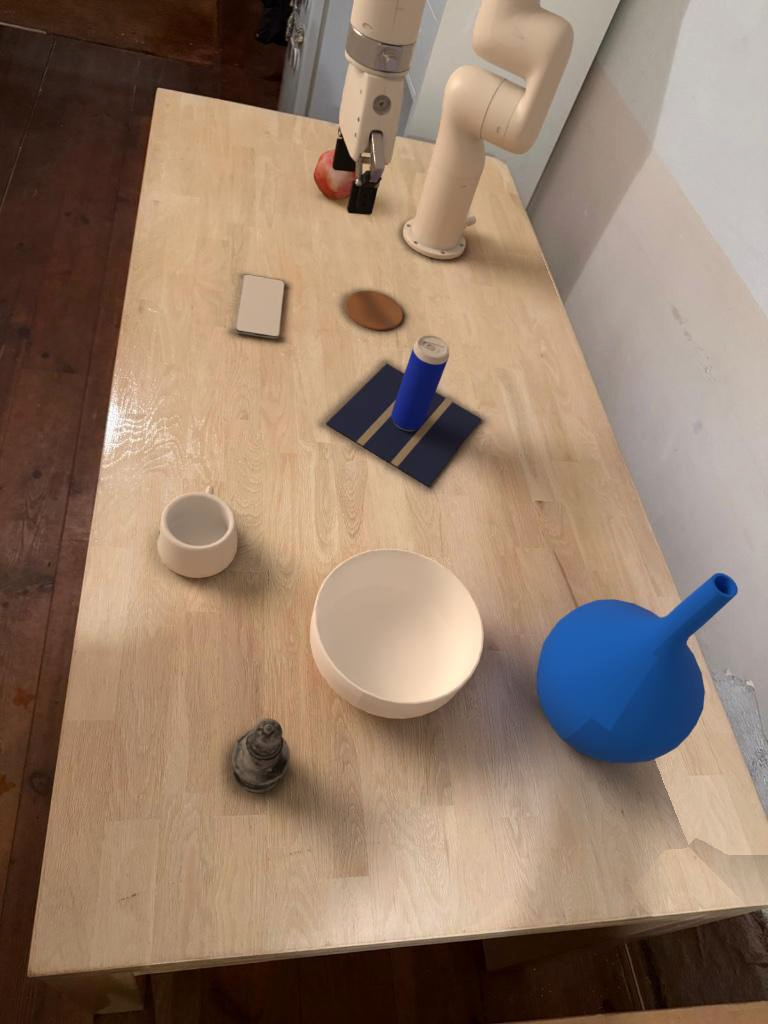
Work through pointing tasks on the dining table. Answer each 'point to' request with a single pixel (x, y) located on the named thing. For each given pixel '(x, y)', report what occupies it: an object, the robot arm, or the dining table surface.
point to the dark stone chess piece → (260, 756)
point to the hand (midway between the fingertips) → (351, 190)
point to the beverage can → (420, 382)
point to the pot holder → (403, 449)
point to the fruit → (332, 178)
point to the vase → (627, 675)
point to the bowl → (395, 633)
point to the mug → (197, 534)
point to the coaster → (374, 310)
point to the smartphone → (260, 306)
